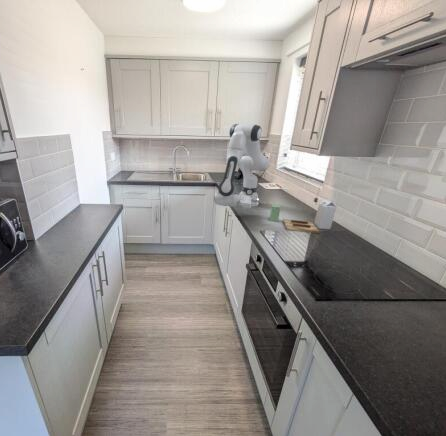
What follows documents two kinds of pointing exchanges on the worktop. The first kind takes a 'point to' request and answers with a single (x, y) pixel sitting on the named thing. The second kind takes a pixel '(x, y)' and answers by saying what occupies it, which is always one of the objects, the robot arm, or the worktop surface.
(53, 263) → the worktop surface
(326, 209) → the milk carton
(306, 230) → the base pad
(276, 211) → the back pad
